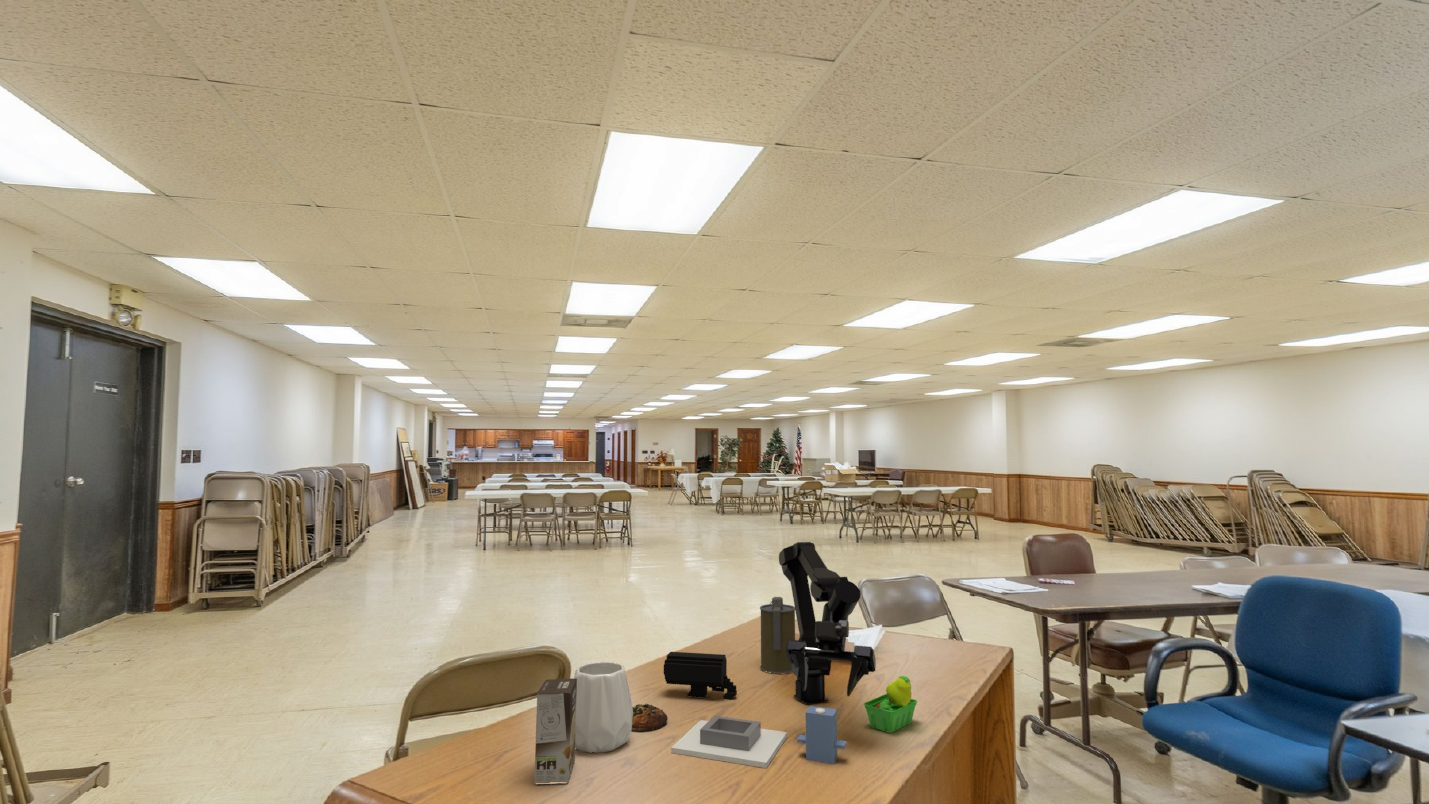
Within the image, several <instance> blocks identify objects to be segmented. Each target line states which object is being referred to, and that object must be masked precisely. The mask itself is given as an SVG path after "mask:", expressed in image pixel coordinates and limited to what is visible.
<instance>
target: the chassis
mask: <svg viewBox="0 0 1429 804" xmlns="http://www.w3.org/2000/svg"><path fill="white" fill-rule="evenodd" d="M761 725H762V723H761V721H756V720H749V719H741V718H737V717H736V718H733V717H728V716H720V715H713V716H712V717H711V718H710V719H709V720H703V719H700V720H699V721H698V722H697V723H695V725H694V726H693V727H691V728H690V730H688V731H687V732H686V733H685V734H684V735H683V736H682V737H681V738H680V739H679V740H678V741H677V742H676V743H674V744H673V745H672V746H671V750H670V752H671V753H672V754H677V755H681V756H682V755H683V756H689V757H695V758H702V759H708V760H713V761H720V762H726V763H732V764H738V765H744V766H750V767H757V768H763V769H767V768H768V767H769V765H770V763H771V762H772V761H773V759H774V758H775V756H776V754H777V753H778V751H779V750H780V748H781V747H782V746H783V744H784V742H785V741H786V739H787V738H788V732H787V731H782V730H773V729H767V728H761Z"/></svg>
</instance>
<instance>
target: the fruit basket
mask: <svg viewBox="0 0 1429 804" xmlns="http://www.w3.org/2000/svg"><path fill="white" fill-rule="evenodd" d="M885 691H886V693H883V694H882V695H880V696H877V697H875V698H872V699H871V700H868V701H866V702H863V706H864V708H865V710H866V714H867V717H868V720H869V724H870V725H869V726H870V727H871V728H873V729H876V730H879V731H883V732H885V733H889V734H892V733H894V732H896V731H898V730H900V729H901V728H904V727H906V726H908V725H910V724H912V721H913V716H914V712H915V708H916V705H917V703H918V700H917V699H913V698H912V683H911V679H910V678H909V677H908V676H905V675H899V677H898V678H896V679H895V680H893V681H892V682H890V683H889V684H888V685H887V686H886V688H885Z"/></svg>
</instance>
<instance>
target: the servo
mask: <svg viewBox="0 0 1429 804" xmlns="http://www.w3.org/2000/svg"><path fill="white" fill-rule="evenodd" d="M796 743H799V744H805V760H806V761H808V762H809V761H810V762H814V763H815V762H817V763H822V764H823V763H824V764H829V765H835V763H836V761H837V758H838V757H839V756H838V755H839V754H838V749H842V750H846V747H847V745H848V744H847V743H848V741H846V740H840V739H838V710H837V708H829V707H820V706H813V705H810V706H808V708H807V710H806V711H805V734H799V735H798V736H797V738H796Z"/></svg>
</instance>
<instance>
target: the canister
mask: <svg viewBox="0 0 1429 804" xmlns="http://www.w3.org/2000/svg"><path fill="white" fill-rule="evenodd" d="M759 610H760V668H761V669H760V670H761V671H762V670H763V671H762V672H764V671H767V672H771V673H770V674H772V673H779V674H778V675H782V674H781V673H788V674H790V673H789V672H792V666H791V663H790V662H789V659H788V656H787V653H786V650H785V649H786V644H787V642H788V641H789V640H796V611H795V605H794V606H793V605H790V604H784V598H783V597H782V596H773V597H772V598H771V601H770V603H769V604H767V603H766V604H763V605H761V606H759ZM792 673H793V672H792Z"/></svg>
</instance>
